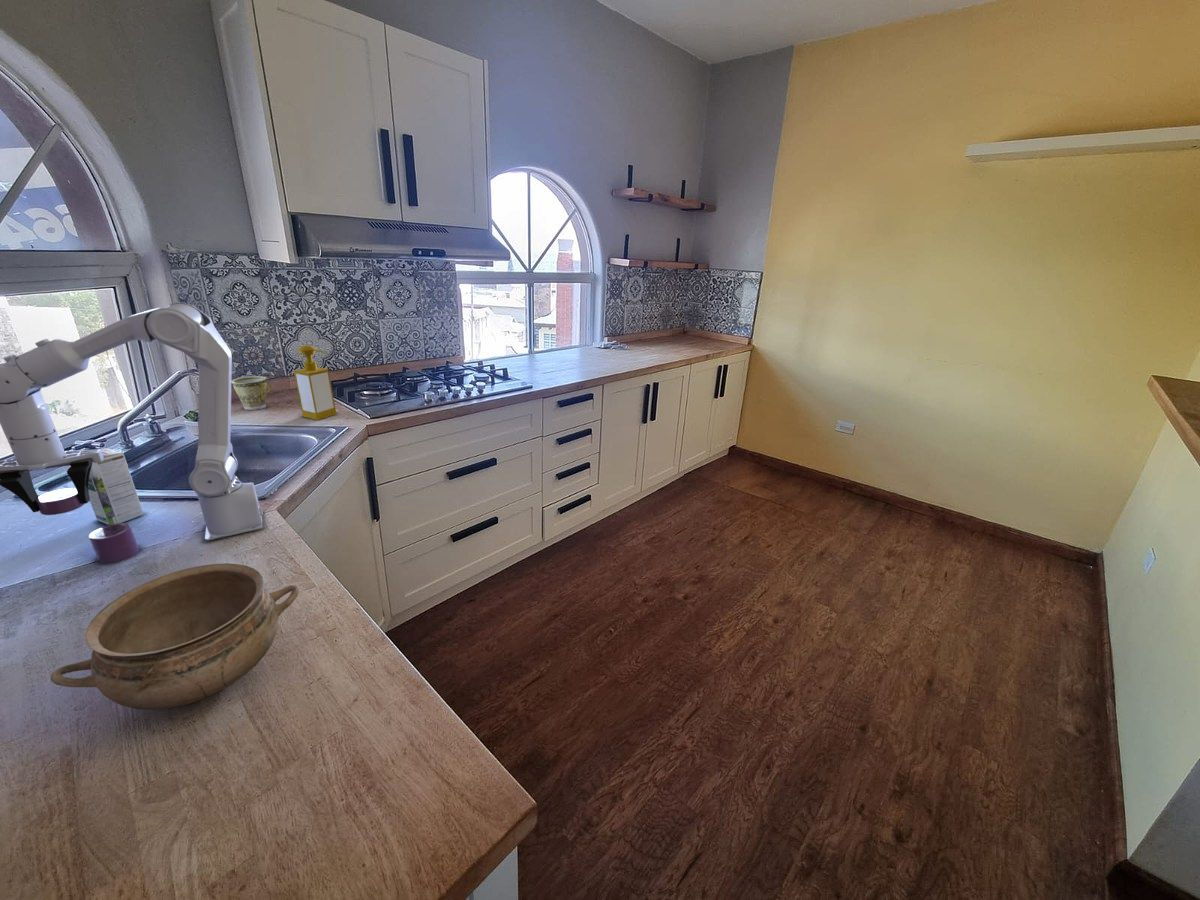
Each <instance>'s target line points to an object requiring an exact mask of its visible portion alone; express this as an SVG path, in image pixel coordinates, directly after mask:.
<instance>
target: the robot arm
mask: <svg viewBox="0 0 1200 900" xmlns="http://www.w3.org/2000/svg"><path fill="white" fill-rule="evenodd" d="M155 340H156V341H158V342H159V343H161V344H163V345H165V346H167V347H170V348H173V349H175V350H177V351H180V352H182V353H184V354H185V355H186V356H187V357H189V358H190V359H191V360H193V361H194V362H196V363H197V365H198V417H197V418H198V419H197V420H198V432H197V433H198V435H197V436H198V445H197V451H196V455H195V461H194V462H195V464H194V469H193V470H192V472H191V473H190V475H189V477H188V484H189V486H190V488H191V489H192V491H194V492H195V493H196V496H197V499H198V503H199V505H200V509H201V512H202V515H203V519H204V522H205V532H204V541H205V542H209V541H213V540H217V539H221V538H226V537H227V538H228V537H230V536H235V535H239V534H240V535H241V534H244V533H249V532H253V531H257V530H262V529H263V528H264V527H263V517H262V516H263V515H264V514H263V509H262V506H260V502H259V498H258V494H257V490H256V486H255V483H254V482H241V480H240V479H239V478H238V477H237V475H235V474H236V472H237V470H238V467H239V462H238V460H237V458H236V456H235V454H234V451H233V450H234V447H233V443H232V442H231V428H232V427H231V424H232V423H231V421H232V419H231V418H232V382H231V381H232V373H233V372H232V369H233V368H232V367H233V354H232V351H231V349H230V348H229V346H228V344H227V343H226V342H225V340H224V339H223V337H222V336H221V335H220V333H219V331H218V330H217V329H216V327H215V325H214V322H213V320H212V318H211V317H209V316H208V315H207V314H206V313H204V312H203V311H202V310H200V309H199V308H197V307H196V306H194V305H193V304H191V303H188V302H180V301H179V302H173V303H171V304H168V305H167V306H166V307H156V308H153V309H148V310H145V311H142V312H139V313H135V314H131V315H130V316H127V317H123V318H122V319H119V320H117V321H115V322H113V323H111V324H109V325H107V326H104V327H102V328H100V329H98V330H96V331H94V332H91V333H90V334H87V335H85V336H83V337H80V338H78V339H76V340H74V341H71V340H65V339H61V338H54V339H52V340H49V339H48V338H45V339H42V340H39V341H37V342H35V343H34V344H35V347H34V348H31V349H29V350H27V351H24V352H22V353H20V354H17V355H16V354H14V353H12V354H9V355H5V356H4V357H3V360H4V361H3V362H0V427H1V429H2V431H3V433H4V436H5V438H6V440H7V443H8V444H9V445H8V446H9V447H10V449H11V452H12V453H13V455H14V458H11V459H5V460H0V486H1V487H2V488H4V489H6V490H8V491H9V492H10V493H12V494H13V495H15V496H16V497H18V499H20V500H21V501H22V502H23V503H25V505H27V507H28V508H29V509H30V511H32V513H40V511H39V508H38V506H37V504H36V502H35V499H36V498H37V497H39V495H38V493H37V491H36V489H35V486H34V483H33V480H32V477H31V472H33V471H40V470H48V469H55V468H62V467H69V466H70V467H69V468H68V469H67V470H66V474H67V475H68V477H69V479H70V480H71V481H72V483H73V485H74V488H76V490H77V493H78V496H79V499H80V501H81V503H82V504H84V505H85V504H88V503H89V502H90V497H89V476H90V471H91V467H92V464H93V462H94V463H99V462H102V461H103V459H104V457H103V454H102V452H101V449H102V448H95V449H83V450H82V449H81V450H65V449H64V446H63V443H62V441H61V439H60V436H59V434H58V430H57V429H56V427H55V424H54V421H53V419H52V416H51V413H50V411H49V409H48V406H47V404H46V402H45V400H44V397H43V395H42V392H41V391H42V389H44V388H48V387H50V386H52V385H55V384H57V383H59V382H62V381H64V380H66V379H68V378H71V377H73V376H75V375H77V374H80V373H82V372H84V371H86V370H87V369H88V367H89V360H90V358H92V357H95V356H99V355H100V354H102V353H105V352H107V351H111V350H112V349H114V348H117V347H121V346H122V345H125V344H127V343H129V342H132V341H142V342H146V343H152V342H153V341H155Z"/></svg>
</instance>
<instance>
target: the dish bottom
mask: <svg viewBox="0 0 1200 900" xmlns="http://www.w3.org/2000/svg"><path fill="white" fill-rule="evenodd" d="M139 549H140V547H139V545H138V542H137V540H136V537H135V538H134V540H133V541H132V542H131V543H129V544H127V545H125V546H123V547H120V548H117V549H114V550H109V551H96V550H94V549H93V551H94V553H95V554H94V555H95V557H96V558H97V560H98V563H101V564H110V563H116V562H121V561H123V560H126V559H129V558H131V557H132V556H134V555H136V554H137V553H138V552H139Z"/></svg>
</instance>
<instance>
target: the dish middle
mask: <svg viewBox="0 0 1200 900" xmlns="http://www.w3.org/2000/svg"><path fill="white" fill-rule="evenodd" d="M134 538H135V539H136V537H135V534H134V532H133V528H132V527H131V524H129V523H126V522H123V523H119V524H112V525H108V524H107V525H105V526H102V527H99V528H97V529H95V530H93V531H92V532H90V533H89V535H88V540H89V541H90V544H91V547H92V549H93V551H94V550H96V551H109V550H114V549H117V548H120V547H123V546H125V545H127V544H129V543H131V542H132V541H133V540H134Z"/></svg>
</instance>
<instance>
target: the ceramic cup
mask: <svg viewBox="0 0 1200 900" xmlns="http://www.w3.org/2000/svg"><path fill="white" fill-rule="evenodd" d="M231 386H232V388H233V389H234V391H235V393H236V394H237V396H238V399H239V401H240V402H241V404H242V407H243V408H244V410H246V411H256V410H262V409H265V408H266V407H267V394H268V393H269V392H271V390H272V385H271V383H270V382H267V377H265V376H261V375H250V376H249V375H247V376H242V377H236V378H233V379H231ZM267 386H268V390H267Z"/></svg>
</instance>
